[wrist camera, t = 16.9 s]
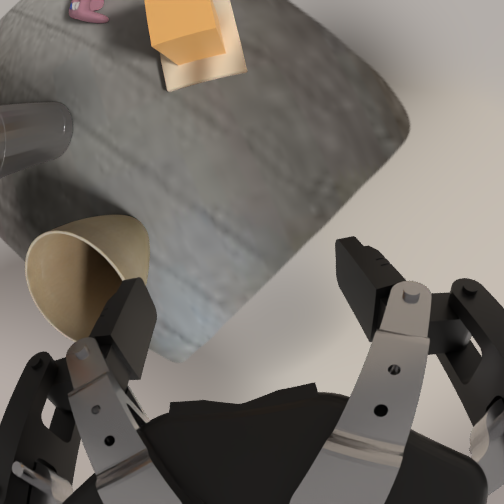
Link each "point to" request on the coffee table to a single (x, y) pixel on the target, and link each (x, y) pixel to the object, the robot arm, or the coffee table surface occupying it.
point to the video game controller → (87, 11)
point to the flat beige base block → (212, 65)
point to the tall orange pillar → (184, 29)
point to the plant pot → (84, 269)
